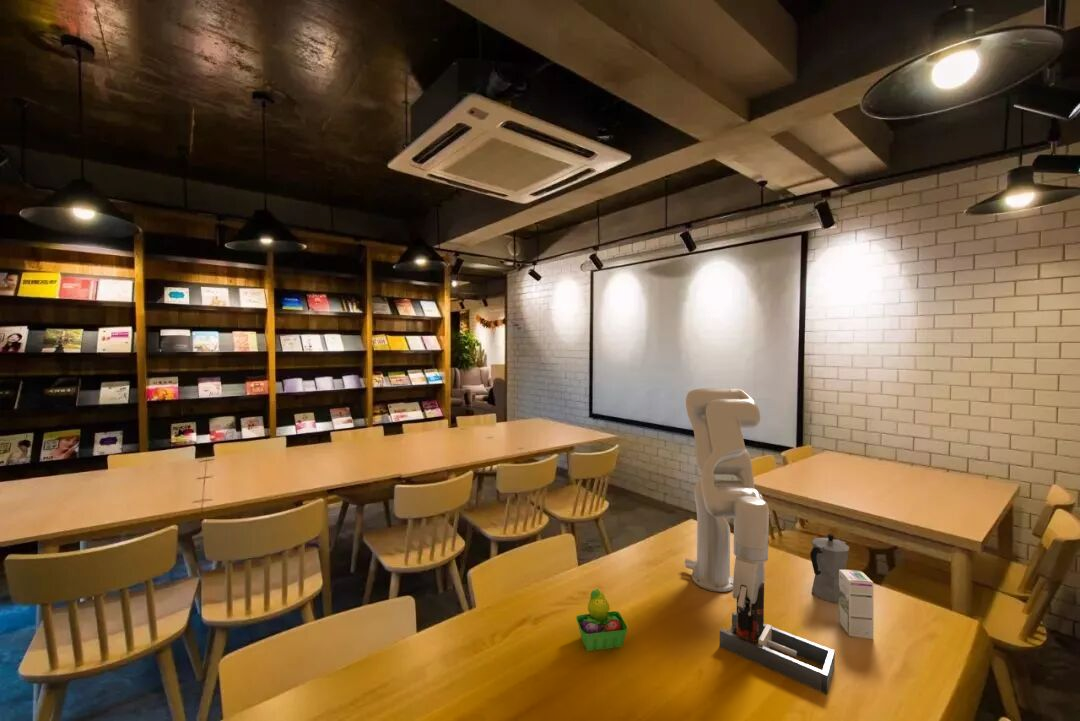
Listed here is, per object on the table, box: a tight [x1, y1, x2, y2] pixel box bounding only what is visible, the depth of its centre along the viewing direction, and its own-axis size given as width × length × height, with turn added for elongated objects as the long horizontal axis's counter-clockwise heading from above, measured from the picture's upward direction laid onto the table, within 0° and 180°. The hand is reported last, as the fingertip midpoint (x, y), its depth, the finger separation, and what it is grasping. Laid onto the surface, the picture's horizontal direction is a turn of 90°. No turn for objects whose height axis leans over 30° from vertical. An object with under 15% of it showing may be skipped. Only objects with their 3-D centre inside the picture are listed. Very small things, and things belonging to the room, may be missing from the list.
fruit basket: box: [575, 589, 629, 652], centre depth 108 cm, size 11×9×11 cm
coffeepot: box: [809, 533, 850, 604], centre depth 127 cm, size 15×9×18 cm, turn 116°
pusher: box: [758, 623, 798, 658], centre depth 102 cm, size 7×7×4 cm
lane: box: [719, 611, 836, 695], centre depth 102 cm, size 22×10×4 cm, turn 49°
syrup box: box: [838, 569, 875, 640], centre depth 111 cm, size 6×6×14 cm
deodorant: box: [735, 583, 765, 644], centre depth 106 cm, size 6×6×15 cm
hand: (749, 622), depth 106 cm, fingers closed on deodorant, 5 cm apart
